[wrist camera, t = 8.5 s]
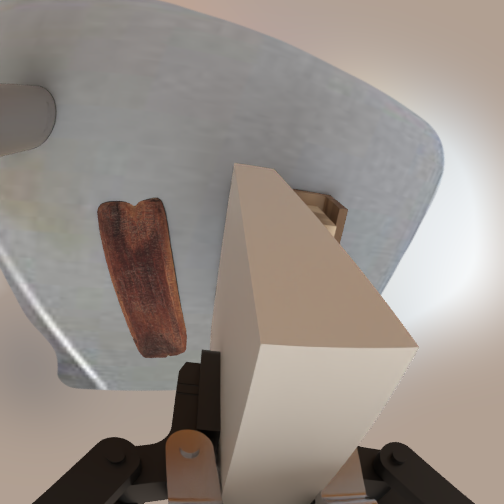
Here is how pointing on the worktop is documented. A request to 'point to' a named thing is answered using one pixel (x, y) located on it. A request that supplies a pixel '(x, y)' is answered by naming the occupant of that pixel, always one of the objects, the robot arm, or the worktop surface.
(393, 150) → the worktop surface
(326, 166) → the worktop surface
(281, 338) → the cutting board
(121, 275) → the wooden tablet
